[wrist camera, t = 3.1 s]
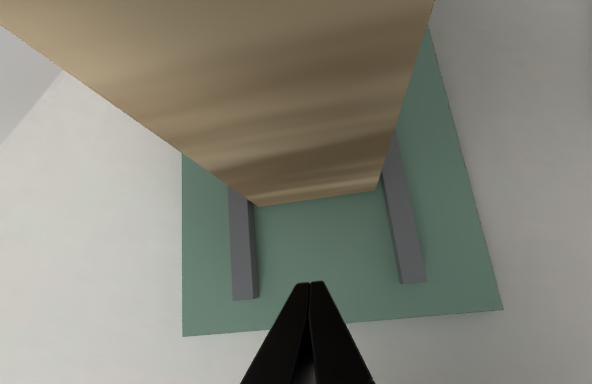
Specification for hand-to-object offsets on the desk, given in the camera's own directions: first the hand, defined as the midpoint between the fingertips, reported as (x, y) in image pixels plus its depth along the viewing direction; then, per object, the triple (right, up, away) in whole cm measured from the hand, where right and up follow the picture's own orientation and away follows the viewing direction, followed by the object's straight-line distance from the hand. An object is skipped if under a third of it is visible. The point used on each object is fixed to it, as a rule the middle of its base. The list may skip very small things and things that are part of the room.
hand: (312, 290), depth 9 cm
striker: (0, +4, +7) cm, 8 cm away
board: (0, +8, +9) cm, 12 cm away
